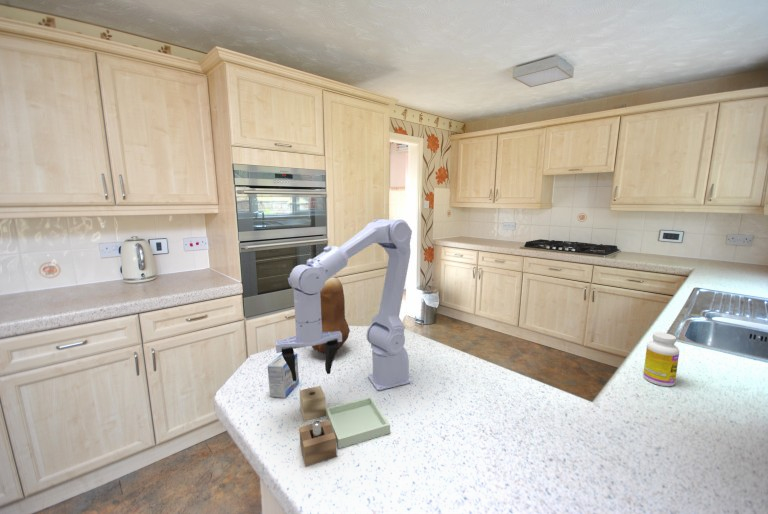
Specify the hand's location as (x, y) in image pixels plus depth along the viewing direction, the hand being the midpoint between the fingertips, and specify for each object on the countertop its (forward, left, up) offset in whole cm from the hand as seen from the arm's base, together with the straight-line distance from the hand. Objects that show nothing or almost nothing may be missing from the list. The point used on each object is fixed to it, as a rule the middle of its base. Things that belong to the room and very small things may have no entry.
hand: (311, 375), depth 76 cm
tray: (-8, +8, -9) cm, 15 cm away
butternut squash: (-11, -30, -10) cm, 33 cm away
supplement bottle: (-88, +24, -10) cm, 92 cm away
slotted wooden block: (+2, +13, -9) cm, 16 cm away
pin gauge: (+2, +13, -9) cm, 16 cm away
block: (0, 0, -10) cm, 10 cm away
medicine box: (+5, -13, -10) cm, 17 cm away
